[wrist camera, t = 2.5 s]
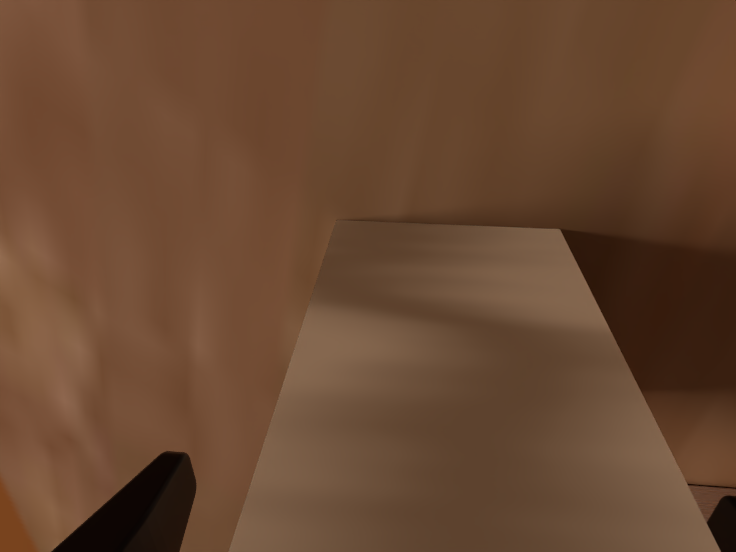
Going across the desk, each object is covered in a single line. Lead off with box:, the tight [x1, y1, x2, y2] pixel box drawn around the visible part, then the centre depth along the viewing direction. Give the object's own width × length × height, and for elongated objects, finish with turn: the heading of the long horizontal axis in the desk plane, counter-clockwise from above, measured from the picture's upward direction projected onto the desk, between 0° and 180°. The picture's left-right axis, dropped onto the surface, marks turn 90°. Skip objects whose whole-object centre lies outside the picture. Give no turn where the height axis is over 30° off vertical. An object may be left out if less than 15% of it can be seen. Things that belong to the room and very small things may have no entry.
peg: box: [229, 220, 721, 552], centre depth 10 cm, size 5×5×8 cm
